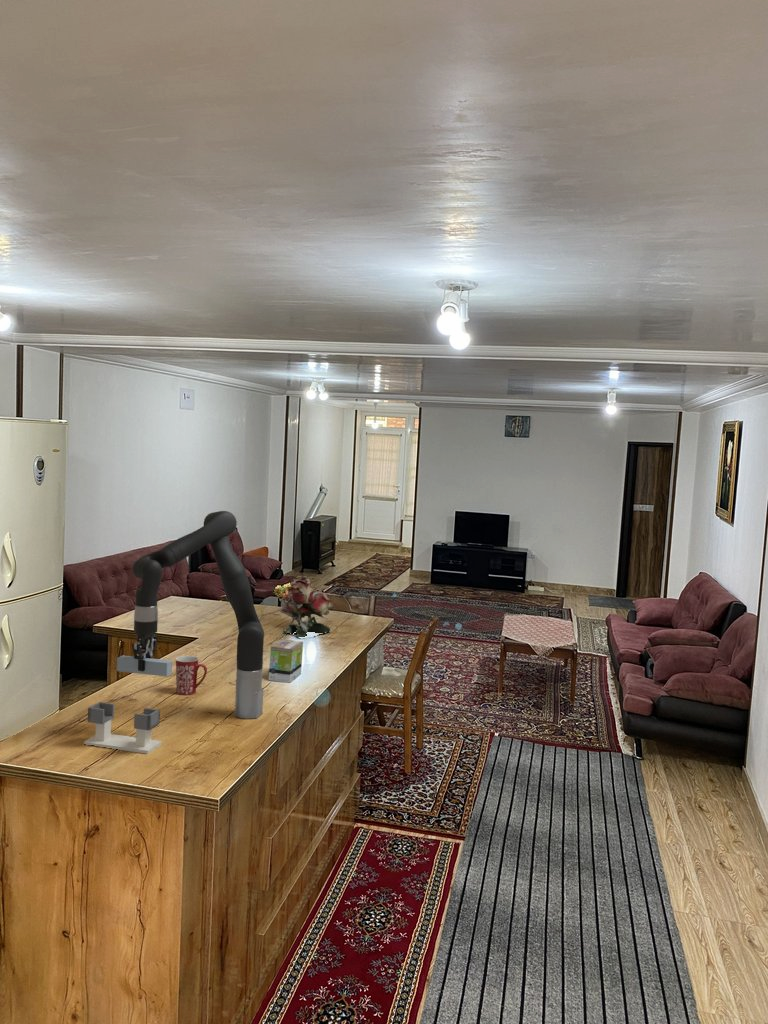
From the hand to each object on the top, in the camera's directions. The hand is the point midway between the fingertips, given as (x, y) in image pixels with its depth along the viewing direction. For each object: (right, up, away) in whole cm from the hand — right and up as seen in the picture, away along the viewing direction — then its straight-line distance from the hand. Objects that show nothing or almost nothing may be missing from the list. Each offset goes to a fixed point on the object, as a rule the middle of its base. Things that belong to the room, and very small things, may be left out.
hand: (144, 669), depth 267 cm
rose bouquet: (+36, -12, +160) cm, 165 cm away
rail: (0, -1, 0) cm, 1 cm away
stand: (-3, -22, -12) cm, 25 cm away
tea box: (+38, -18, +73) cm, 84 cm away
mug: (+5, -18, +44) cm, 48 cm away
